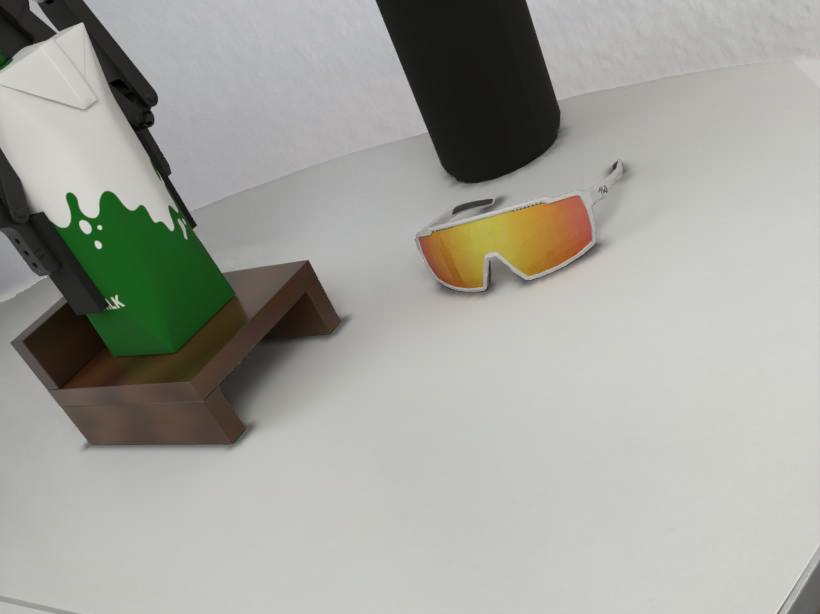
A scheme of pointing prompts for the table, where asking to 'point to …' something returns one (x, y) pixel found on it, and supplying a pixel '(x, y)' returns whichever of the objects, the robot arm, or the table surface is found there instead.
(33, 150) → the milk carton
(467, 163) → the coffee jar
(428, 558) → the table surface
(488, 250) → the sunglasses
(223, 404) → the stand
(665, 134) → the table surface
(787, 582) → the table surface
